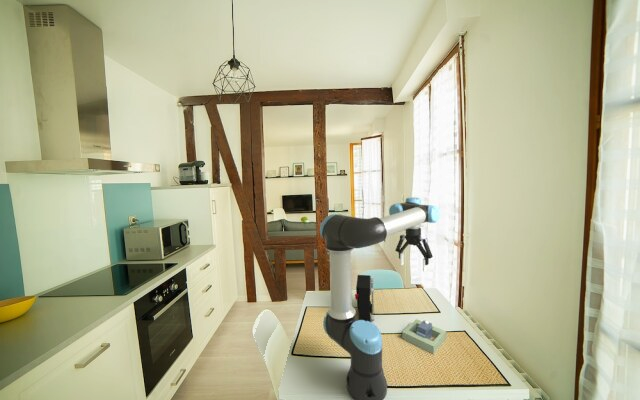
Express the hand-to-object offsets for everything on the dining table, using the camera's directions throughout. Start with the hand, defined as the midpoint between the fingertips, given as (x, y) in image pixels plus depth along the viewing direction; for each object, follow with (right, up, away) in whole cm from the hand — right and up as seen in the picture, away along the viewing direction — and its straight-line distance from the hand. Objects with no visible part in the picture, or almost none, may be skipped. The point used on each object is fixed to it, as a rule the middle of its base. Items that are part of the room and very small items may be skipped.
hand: (413, 267), depth 128 cm
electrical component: (-23, -31, +13) cm, 41 cm away
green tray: (+2, -32, -9) cm, 34 cm away
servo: (+2, -32, -9) cm, 34 cm away
